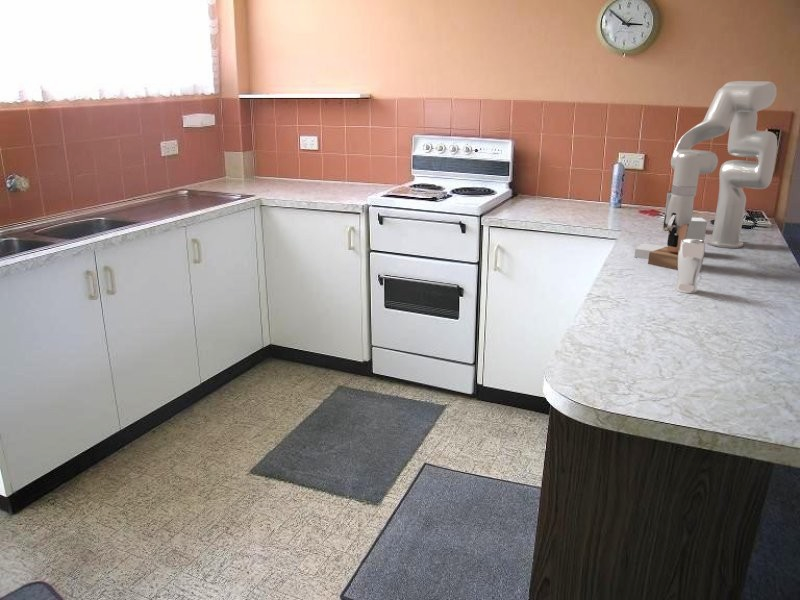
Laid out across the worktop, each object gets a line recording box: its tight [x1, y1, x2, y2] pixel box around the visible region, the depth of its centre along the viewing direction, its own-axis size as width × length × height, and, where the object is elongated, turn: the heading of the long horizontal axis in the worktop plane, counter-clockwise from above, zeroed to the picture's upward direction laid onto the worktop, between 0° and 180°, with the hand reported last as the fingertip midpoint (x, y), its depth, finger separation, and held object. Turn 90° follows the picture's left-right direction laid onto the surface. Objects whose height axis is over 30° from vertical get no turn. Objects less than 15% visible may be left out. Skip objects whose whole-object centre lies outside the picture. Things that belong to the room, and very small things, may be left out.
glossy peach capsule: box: [667, 224, 688, 252], centre depth 223 cm, size 5×5×9 cm
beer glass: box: [674, 238, 706, 294], centre depth 195 cm, size 7×7×15 cm
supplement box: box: [686, 216, 708, 241], centre depth 238 cm, size 7×7×13 cm
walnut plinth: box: [647, 246, 678, 271], centre depth 225 cm, size 12×12×4 cm
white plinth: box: [634, 243, 668, 260], centre depth 235 cm, size 10×10×3 cm
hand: (676, 244), depth 223 cm, fingers closed on glossy peach capsule, 5 cm apart
